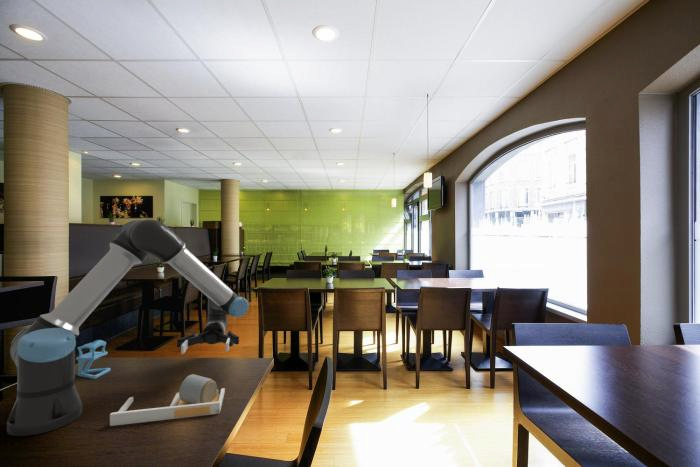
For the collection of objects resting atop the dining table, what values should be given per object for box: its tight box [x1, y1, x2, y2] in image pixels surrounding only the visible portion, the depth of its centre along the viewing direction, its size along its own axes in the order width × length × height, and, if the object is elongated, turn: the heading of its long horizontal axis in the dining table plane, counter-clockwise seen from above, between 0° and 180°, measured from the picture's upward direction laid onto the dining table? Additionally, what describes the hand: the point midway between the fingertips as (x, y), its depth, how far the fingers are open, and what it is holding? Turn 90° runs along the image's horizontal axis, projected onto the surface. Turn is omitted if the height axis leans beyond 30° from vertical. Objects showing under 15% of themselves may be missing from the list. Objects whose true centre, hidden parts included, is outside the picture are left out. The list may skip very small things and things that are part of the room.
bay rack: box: [109, 387, 226, 427], centre depth 100 cm, size 27×14×3 cm, turn 104°
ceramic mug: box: [178, 373, 220, 404], centre depth 104 cm, size 11×8×8 cm
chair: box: [75, 339, 111, 380], centre depth 124 cm, size 8×8×12 cm
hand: (204, 348), depth 113 cm, fingers open, 13 cm apart
